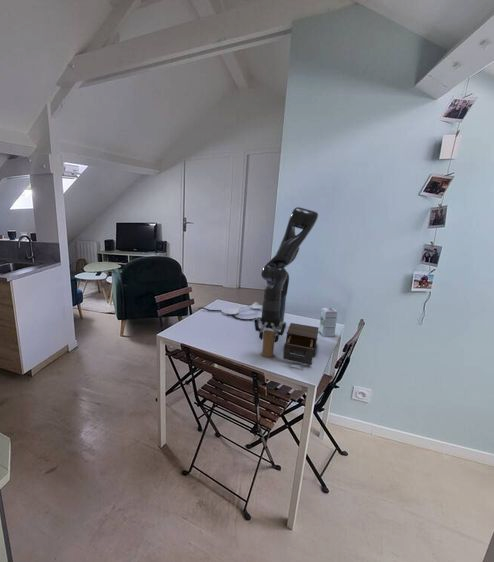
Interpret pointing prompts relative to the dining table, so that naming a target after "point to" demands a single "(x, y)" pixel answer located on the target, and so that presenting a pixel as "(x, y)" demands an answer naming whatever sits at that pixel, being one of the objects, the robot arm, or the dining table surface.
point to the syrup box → (328, 321)
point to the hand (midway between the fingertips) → (268, 340)
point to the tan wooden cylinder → (268, 343)
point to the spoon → (235, 311)
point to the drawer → (299, 349)
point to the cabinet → (303, 333)
